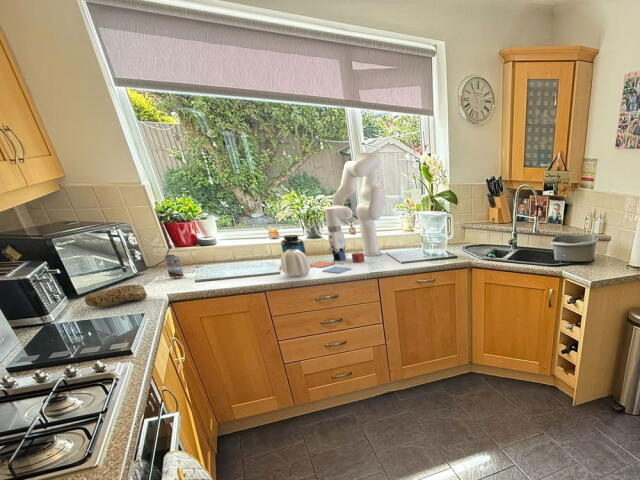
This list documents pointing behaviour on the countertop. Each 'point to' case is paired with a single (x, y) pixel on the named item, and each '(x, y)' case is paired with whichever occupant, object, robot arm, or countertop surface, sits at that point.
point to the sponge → (115, 296)
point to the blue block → (341, 255)
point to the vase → (295, 263)
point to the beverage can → (173, 266)
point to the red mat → (321, 264)
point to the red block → (358, 257)
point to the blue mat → (336, 269)
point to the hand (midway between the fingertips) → (339, 259)
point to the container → (292, 243)
